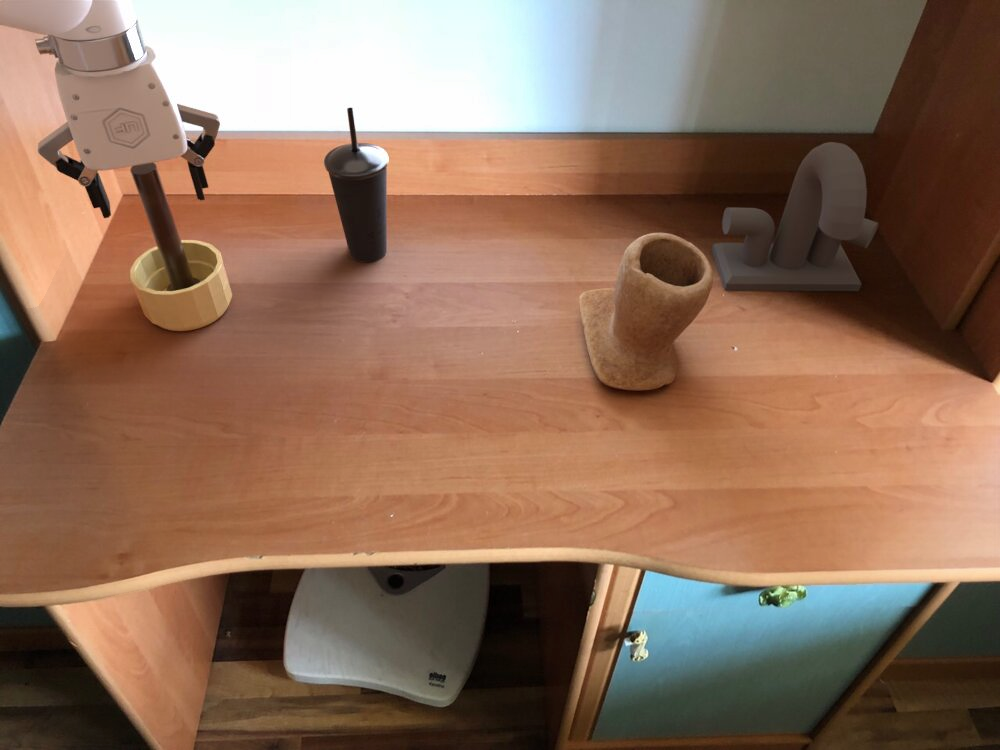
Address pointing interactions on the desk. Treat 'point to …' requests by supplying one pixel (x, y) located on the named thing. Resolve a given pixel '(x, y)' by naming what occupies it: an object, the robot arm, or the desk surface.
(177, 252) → the stirrer
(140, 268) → the bowl
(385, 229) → the drinking cup
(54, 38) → the robot arm
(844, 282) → the faucet
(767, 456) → the desk surface
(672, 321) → the stone cup
